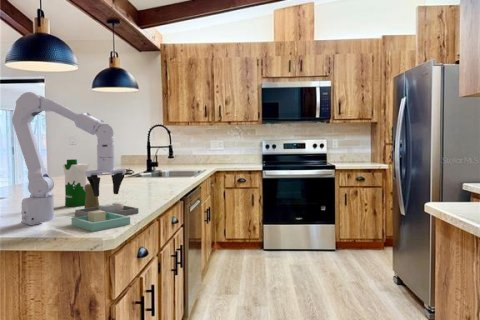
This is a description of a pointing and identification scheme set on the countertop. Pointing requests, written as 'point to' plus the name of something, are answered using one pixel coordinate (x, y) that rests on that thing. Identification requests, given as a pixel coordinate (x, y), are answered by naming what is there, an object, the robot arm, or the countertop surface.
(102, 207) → the light gray rectangular block
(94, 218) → the tan rectangular block
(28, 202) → the robot arm
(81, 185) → the milk carton
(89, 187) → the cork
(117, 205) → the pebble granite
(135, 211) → the tray
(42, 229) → the countertop surface
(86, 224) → the dish
